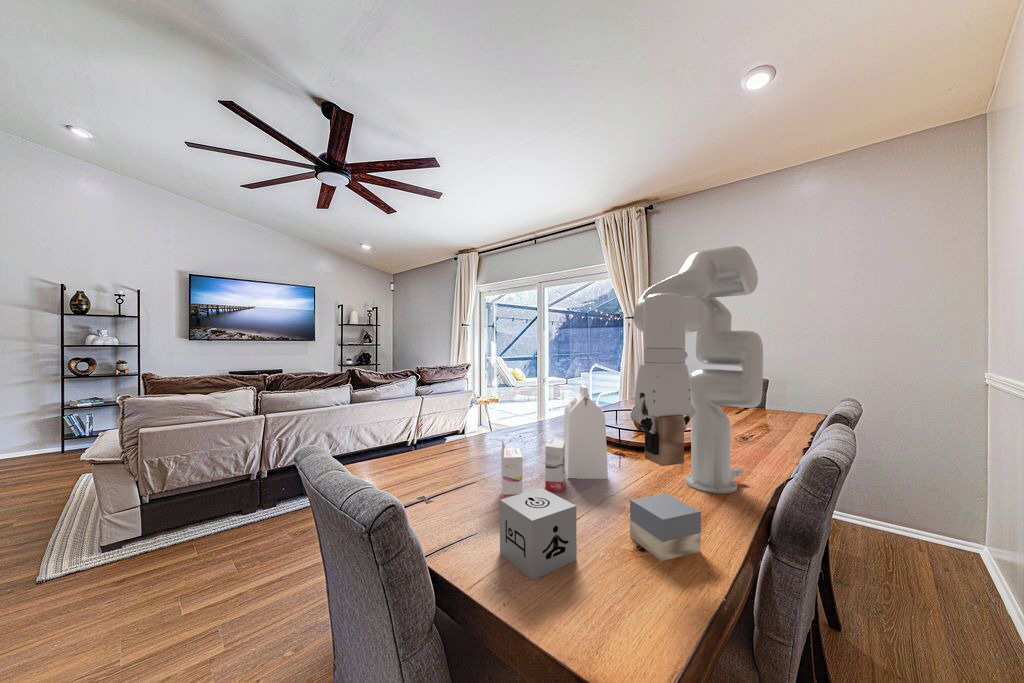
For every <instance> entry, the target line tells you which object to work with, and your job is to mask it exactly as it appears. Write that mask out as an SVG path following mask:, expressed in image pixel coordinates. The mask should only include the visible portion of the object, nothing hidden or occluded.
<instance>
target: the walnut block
mask: <svg viewBox="0 0 1024 683" xmlns="http://www.w3.org/2000/svg"><path fill="white" fill-rule="evenodd" d="M651 421H652V419H650V424H651ZM656 433H657V434H659V454H658V455H654V454H651V453H649V452H646V451H645V450H644V459H646V460H647V461H650V462H652V463H655V464H657V465H659V466H661V467H666V466H667V467H668V466H675V465H682V464H685V431H684V416H682V415H679V416H666V417H659V418H658V426H657V430H656Z"/></svg>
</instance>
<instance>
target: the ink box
mask: <svg viewBox="0 0 1024 683" xmlns="http://www.w3.org/2000/svg"><path fill="white" fill-rule="evenodd" d="M544 447H545V448H544V449H545V454H544V455H545V458H544V461H545V462H544V464H545V468H544V469H545V470H544V471H545V472H544V474H545V476H544V477H545V480H544V481H545V482H544V484H545V488H544V489H545V490H547V491H549V492H555V491H557V493H563V492H564V488H565V482H566V475H565V474H566V472H565V441H564V439H563V440H559V439H553V438H552V439H551V438H549V439H547V441H546V443H545V445H544Z"/></svg>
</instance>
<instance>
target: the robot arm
mask: <svg viewBox="0 0 1024 683" xmlns="http://www.w3.org/2000/svg"><path fill="white" fill-rule="evenodd" d="M758 280H759V277H758V271H757V267H756V266H755V264H754V260H753V259H752V257H751V255H750V254H749V252H748V251H747V250H746V249H745V248H743V247H742V246H738V245H731V246H725V247H724V246H723V247H718V248H711V249H704V250H700V251H697V252H694V253H692V254H690V255H689V256H688V258H687V259H686V260H685V261H684V263H683V265H682V266H681V268H680V269H679V271H678V272H677V274H675V275H672V276H670V277H667V278H666V279H664V280H662V281H660V282H657V283H656V284H653V285H652V286H650V287H648V288H647V289H646V290H645V291H644V292H643V293H642V295H641V296H640V297H639V299H638V300H637V302H636V304H635V307H634V310H633V323H634V326H635V327H636V328H637V330H639V331H640V332H641V333H642V334H643V342H642V343H643V346H642V348H643V352H642V354H643V355H642V356H643V364H640V365H639V367H638V371H637V376H636V383H635V390H634V391H635V392H634V393H635V394H634V408H633V409H632V411H631V412H630V415H629V416H630V418H631V419H632V420H634V421H635V422H636V423H637V424H638V425H639V427H641V430H642V431H643V432H644V452H645V451H646V452H649V453H651V454H654V455H658V454H659V434H657V433H656V430H657V426H658V418H659V417H666V416H679V415H682V416H684V432H685V431H686V430H687V425H688V424H689V422H690V436H691V437H690V441H691V442H690V446H691V447H690V458H691V459H690V461H691V463H690V464H691V465H690V468H691V470H690V472H691V473H689V474H687V475H686V476H685V478H684V482H685V484H687V485H688V486H690V488H693V489H696V490H698V491H702V492H705V493H711V494H720V495H723V494H732V493H735V492H736V491H738V484H737V483H736V481H734V478H735V477H741V476H743V475H744V473H743V470H742V469H741V468H734V469H733V468H732V466H731V421H730V419H729V417H728V415H727V414H726V412H725V411H724V410H723V409H722V407H723V406H726V407H734V408H744V409H745V408H747V409H748V408H749V409H753V408H757V407H758V406H759V405H760V404H761V402H762V397H763V388H764V387H763V383H764V382H763V380H764V379H763V377H764V375H763V374H764V345H763V344H764V343H763V341H762V338H761V336H760V335H759V334H758V332H755V331H751V330H732V313H731V312H730V310H729V309H728V308H727V307H726V306H725V305H724V304H723V303H722V302H721V301H720V300H719V299H717V298H723V297H724V298H727V297H740V296H747V295H750V294H752V293H754V291H756V289H757V286H758V282H759V281H758ZM695 332H696V338H695V356H696V359H697V361H698V362H699V363H700V364H704V365H709V366H723V367H724V366H728V367H739V368H741V369H742V370H735V369H733V370H732V369H729V370H728V369H718V368H716V369H713V368H705V369H704V368H703V369H697V370H694V371H693V372H691V373H689V368H688V366H687V364H686V358H688V352H687V351H686V333H695ZM643 415H644V416H643ZM650 419H652V421H651V424H650Z"/></svg>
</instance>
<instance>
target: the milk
mask: <svg viewBox="0 0 1024 683" xmlns="http://www.w3.org/2000/svg"><path fill="white" fill-rule="evenodd" d="M563 411H564V412H563V414H564V416H563V422H564V423H563V441H565V474H566V475H565V476H566V477H568V478H577V479H576V480H579V479H580V480H581V479H582V480H583V479H584V480H586V479H587V480H588V479H590V480H595V479H598V480H599V479H601V480H602V479H603V480H604V479H605V480H608V479H609V472H608V450H607V449H608V447H607V430H606V427H607V426H606V415H605V412H604V410H602V409H601V408H600V407H599V406H598V405H597V404H596V403H595V402H594V401H593V400H592V399H591V398H590V397H589V387H588V386H587V385H585V384H580V386H579V392H578V394H577V395H576V396H574V397H572V398H571V399H570V401H569V402H568V404H566V406H565V407H564V410H563ZM568 478H567V479H568Z"/></svg>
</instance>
